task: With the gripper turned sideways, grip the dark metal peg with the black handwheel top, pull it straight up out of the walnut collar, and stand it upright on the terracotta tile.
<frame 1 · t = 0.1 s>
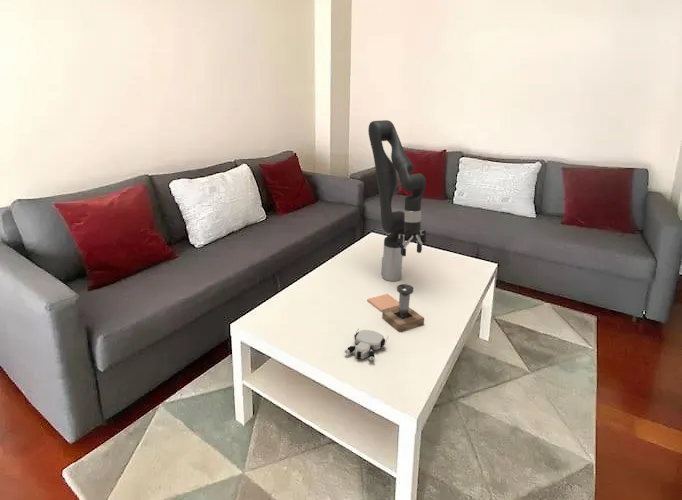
hand: (411, 254, 209), 17 cm above the table, tool pointing down, fingers open, 8 cm apart
peg: (404, 304, 185), in the collar
robot toy: (366, 350, 169), on the table
collar: (402, 321, 188), on the table
pad: (384, 303, 201), on the table
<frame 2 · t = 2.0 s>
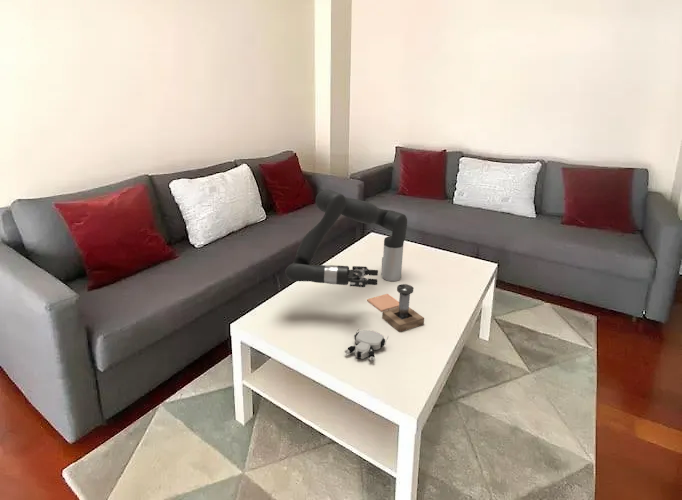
hand: (377, 277, 181), 19 cm above the table, tool horizontal, fingers open, 8 cm apart
nothing on the table moved.
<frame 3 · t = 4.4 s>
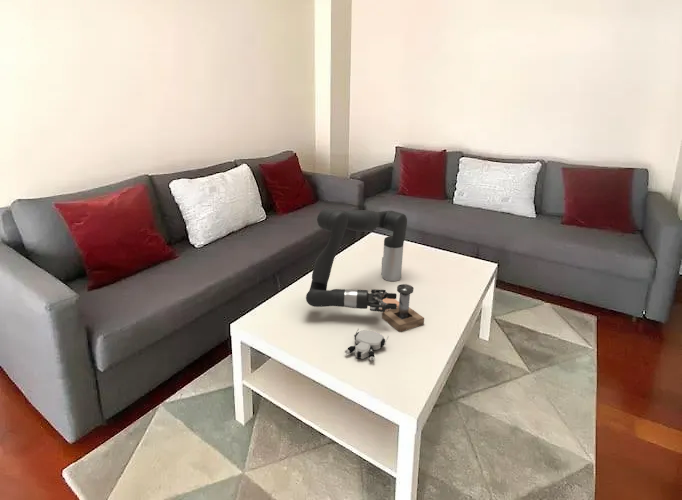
hand: (396, 301, 185), 9 cm above the table, tool horizontal, fingers open, 8 cm apart
nothing on the table moved.
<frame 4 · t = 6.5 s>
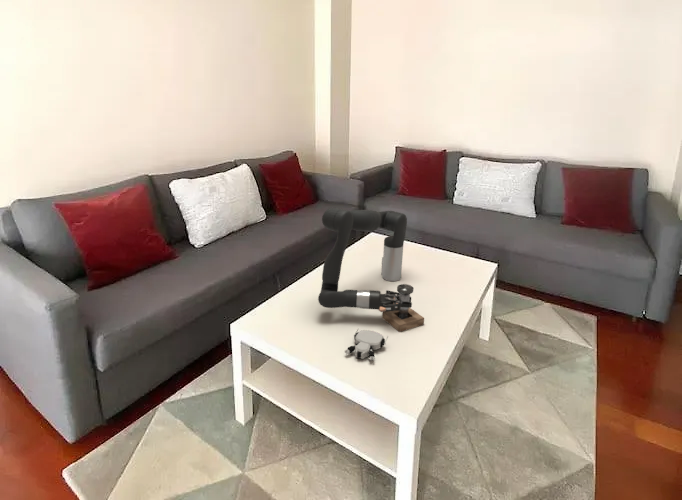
hand: (411, 302, 184), 9 cm above the table, tool horizontal, fingers closed on peg, 4 cm apart
peg: (404, 304, 185), in the collar, touching gripper
everything else where it was.
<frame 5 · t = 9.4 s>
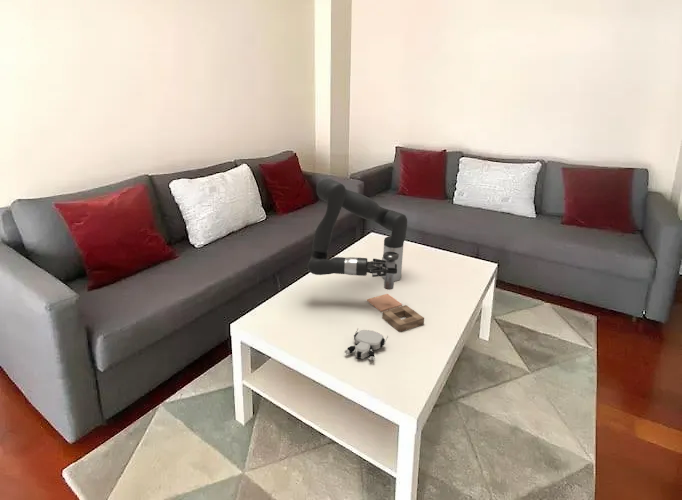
hand: (396, 268, 193), 18 cm above the table, tool horizontal, fingers closed on peg, 4 cm apart
peg: (389, 271, 193), point 16 cm above the table, touching gripper
everything else where it was.
when the fingers open (11 cm above the table, at t = 12.1 s): peg stays where it is, resting on pad.
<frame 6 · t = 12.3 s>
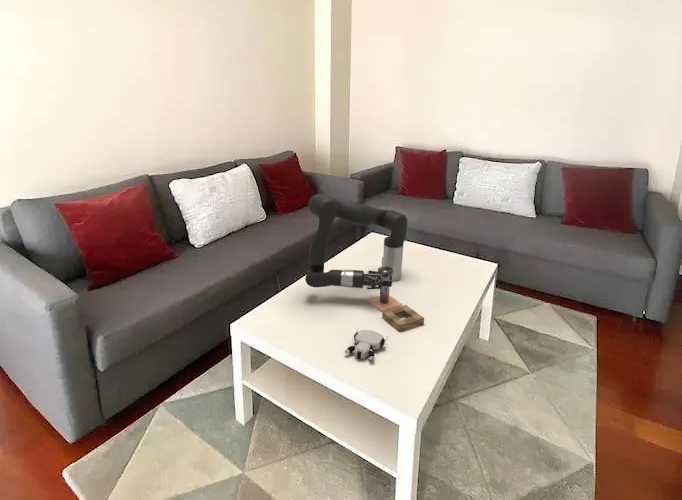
hand: (391, 280, 197), 11 cm above the table, tool horizontal, fingers open, 5 cm apart
peg: (384, 285, 198), on the pad, point 8 cm above the table
everything else where it was.
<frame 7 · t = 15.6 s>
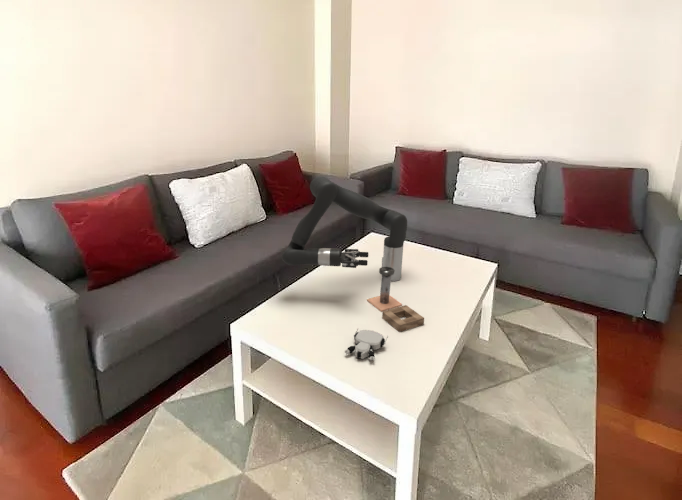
hand: (367, 258, 195), 21 cm above the table, tool horizontal, fingers open, 8 cm apart
nothing on the table moved.
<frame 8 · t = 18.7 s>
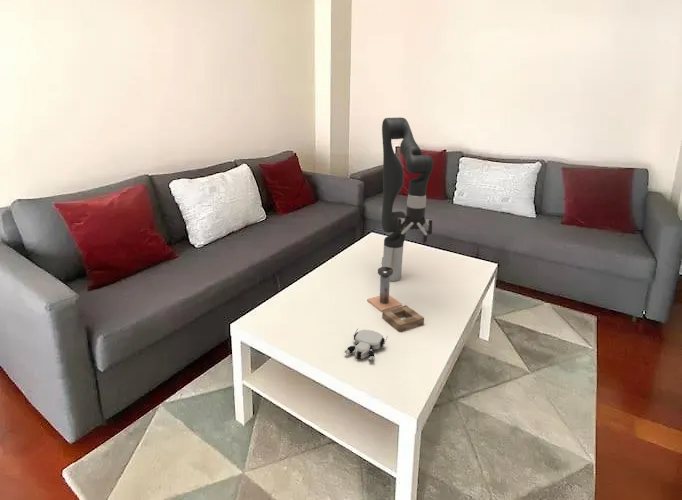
hand: (413, 242, 192), 28 cm above the table, tool pointing down, fingers open, 8 cm apart
nothing on the table moved.
at the end: peg inside the target area on the pad (0.1 cm from its centre), point 8.5 cm above the pad's base; peg tilted 2°; the gripper is holding nothing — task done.
